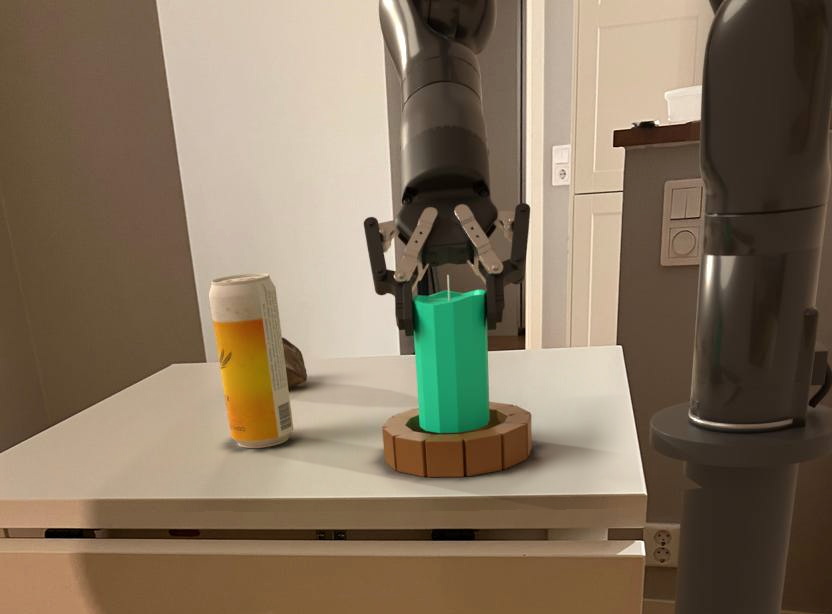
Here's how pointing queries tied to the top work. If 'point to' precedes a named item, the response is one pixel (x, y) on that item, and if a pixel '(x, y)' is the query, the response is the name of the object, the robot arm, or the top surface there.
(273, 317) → the beer can
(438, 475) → the brown segmented block ring
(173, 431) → the top surface
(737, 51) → the robot arm
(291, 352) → the fossilized seashell
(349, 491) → the top surface
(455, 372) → the candle
